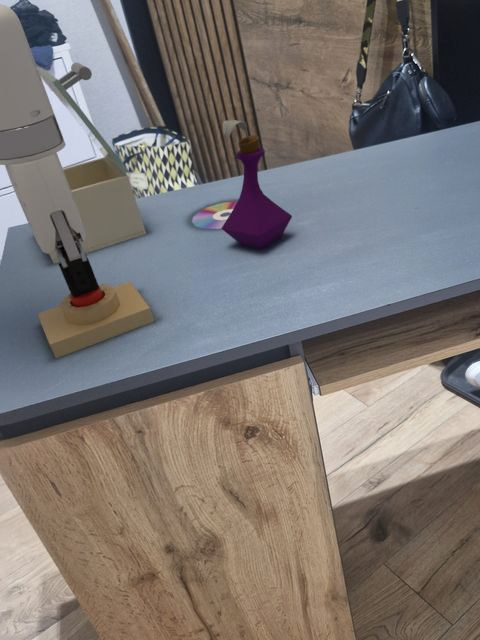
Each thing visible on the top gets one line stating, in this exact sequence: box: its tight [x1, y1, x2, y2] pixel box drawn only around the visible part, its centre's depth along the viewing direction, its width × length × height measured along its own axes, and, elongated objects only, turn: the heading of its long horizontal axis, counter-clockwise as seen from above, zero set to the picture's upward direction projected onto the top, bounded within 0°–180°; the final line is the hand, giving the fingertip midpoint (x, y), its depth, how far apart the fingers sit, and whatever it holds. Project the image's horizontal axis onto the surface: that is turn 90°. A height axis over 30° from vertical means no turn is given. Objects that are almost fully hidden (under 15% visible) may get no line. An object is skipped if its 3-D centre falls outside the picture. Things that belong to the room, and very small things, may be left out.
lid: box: [38, 62, 129, 175], centre depth 97 cm, size 15×14×6 cm
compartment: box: [48, 156, 147, 264], centre depth 102 cm, size 15×14×10 cm
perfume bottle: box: [221, 119, 293, 250], centre depth 90 cm, size 8×8×18 cm
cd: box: [191, 200, 238, 230], centre depth 105 cm, size 11×11×1 cm
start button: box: [69, 286, 104, 307], centre depth 78 cm, size 4×4×2 cm
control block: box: [37, 281, 155, 359], centre depth 79 cm, size 12×9×4 cm
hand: (85, 290), depth 78 cm, fingers closed
